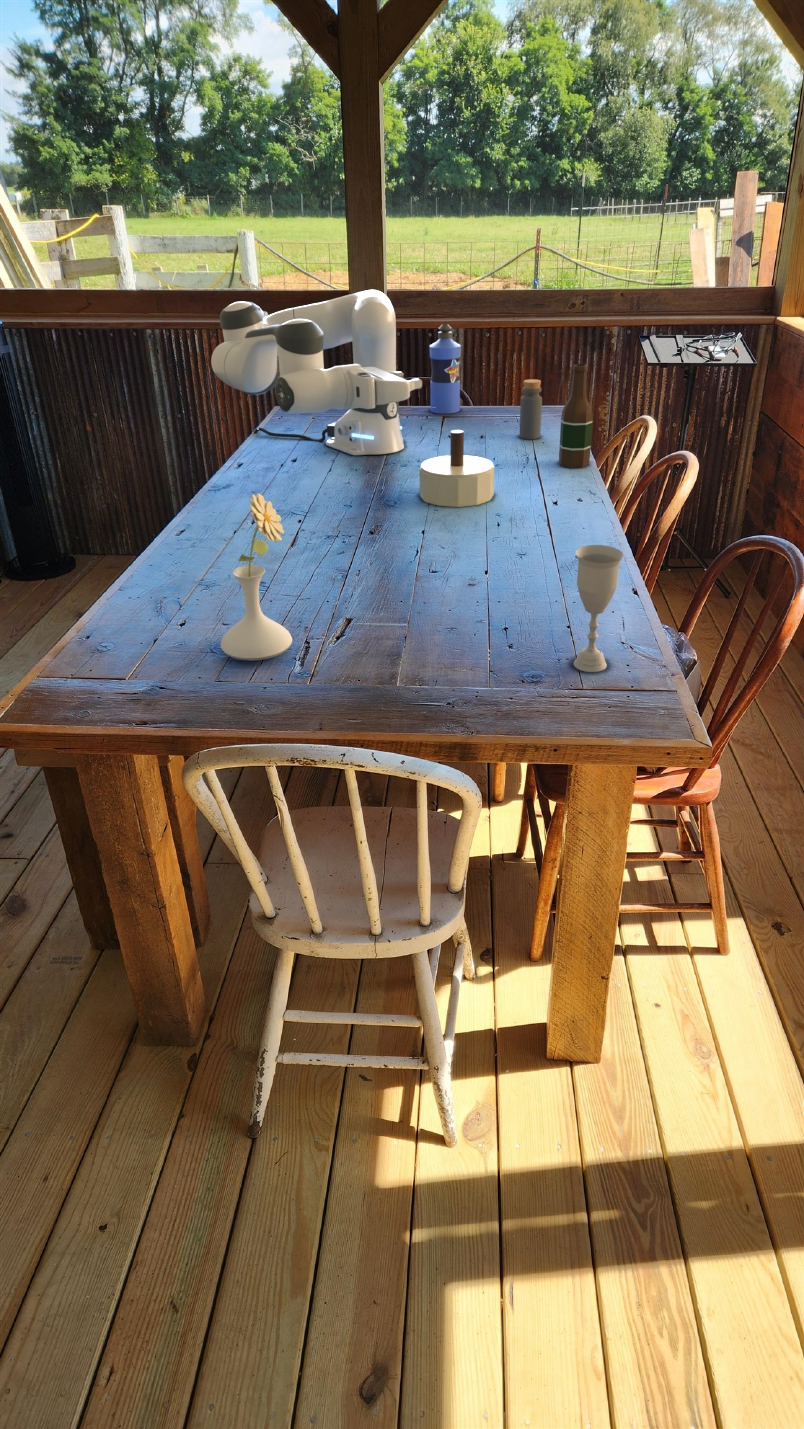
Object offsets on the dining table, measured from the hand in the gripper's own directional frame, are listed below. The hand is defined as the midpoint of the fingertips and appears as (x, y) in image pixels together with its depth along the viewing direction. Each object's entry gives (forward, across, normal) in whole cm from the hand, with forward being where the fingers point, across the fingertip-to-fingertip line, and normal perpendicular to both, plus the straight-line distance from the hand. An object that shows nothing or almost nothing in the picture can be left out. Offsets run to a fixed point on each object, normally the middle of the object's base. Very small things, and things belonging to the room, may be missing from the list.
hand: (411, 379), depth 209 cm
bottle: (+52, -34, -27) cm, 68 cm away
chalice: (-12, +89, -26) cm, 93 cm away
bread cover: (+10, +3, -26) cm, 28 cm away
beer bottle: (+47, -5, -27) cm, 55 cm away
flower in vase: (-56, +60, -26) cm, 86 cm away
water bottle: (+46, -75, -27) cm, 92 cm away
